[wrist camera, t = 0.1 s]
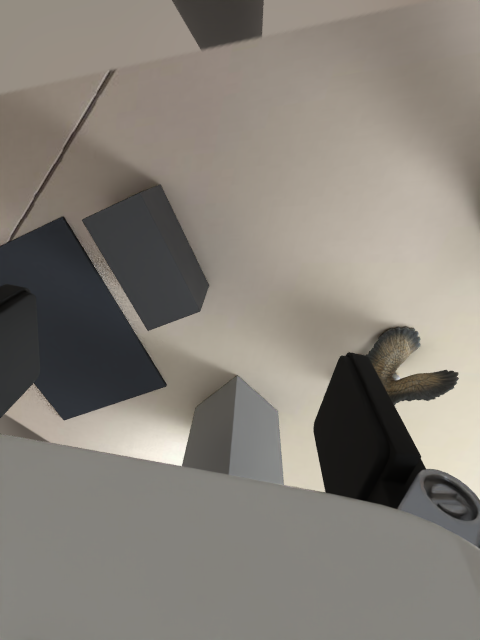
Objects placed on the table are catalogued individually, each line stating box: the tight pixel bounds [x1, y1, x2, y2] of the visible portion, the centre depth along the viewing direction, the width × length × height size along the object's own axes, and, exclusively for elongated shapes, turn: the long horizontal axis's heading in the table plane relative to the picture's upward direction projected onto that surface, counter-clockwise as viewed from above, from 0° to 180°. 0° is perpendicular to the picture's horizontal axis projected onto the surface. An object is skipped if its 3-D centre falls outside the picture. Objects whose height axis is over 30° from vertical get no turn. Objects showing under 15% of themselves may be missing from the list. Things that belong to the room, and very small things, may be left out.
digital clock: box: [82, 185, 209, 331], centre depth 30 cm, size 10×5×6 cm, turn 23°
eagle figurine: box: [366, 327, 459, 405], centre depth 35 cm, size 8×7×9 cm
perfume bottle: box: [182, 375, 284, 485], centre depth 33 cm, size 7×7×18 cm
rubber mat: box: [0, 217, 166, 420], centre depth 37 cm, size 20×14×1 cm
